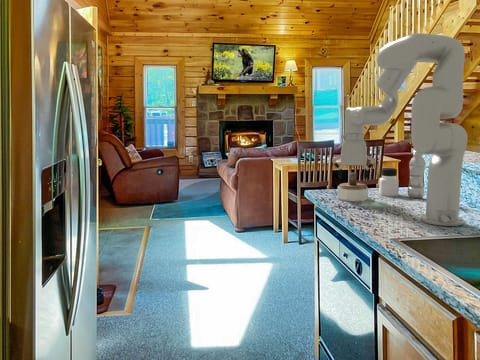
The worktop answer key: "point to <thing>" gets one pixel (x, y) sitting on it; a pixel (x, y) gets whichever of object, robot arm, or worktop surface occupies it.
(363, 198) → the bowl
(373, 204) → the mat
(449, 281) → the worktop surface
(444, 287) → the worktop surface
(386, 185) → the medicine bottle
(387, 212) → the worktop surface
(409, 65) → the robot arm
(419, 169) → the plastic bottle
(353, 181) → the lid
